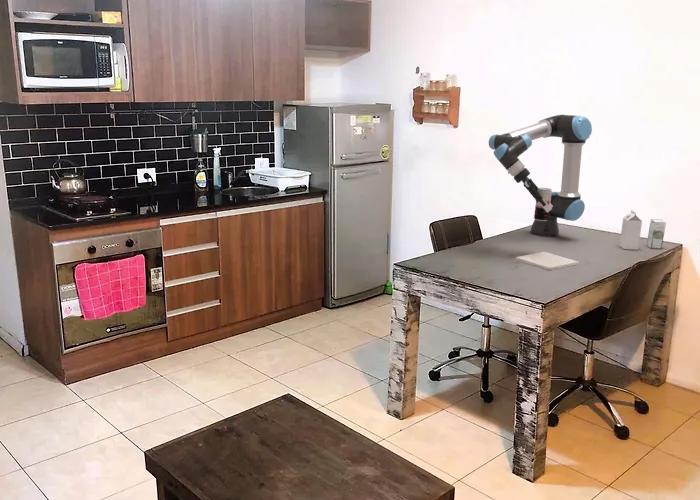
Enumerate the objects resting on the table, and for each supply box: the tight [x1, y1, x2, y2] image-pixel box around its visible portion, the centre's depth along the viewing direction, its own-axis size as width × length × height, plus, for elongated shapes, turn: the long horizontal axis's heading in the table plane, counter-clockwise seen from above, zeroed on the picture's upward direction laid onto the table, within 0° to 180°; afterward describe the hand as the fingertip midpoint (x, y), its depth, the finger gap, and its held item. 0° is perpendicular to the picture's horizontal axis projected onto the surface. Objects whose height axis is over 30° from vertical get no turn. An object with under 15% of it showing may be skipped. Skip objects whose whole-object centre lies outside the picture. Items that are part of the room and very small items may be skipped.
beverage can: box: [533, 187, 553, 221], centre depth 307 cm, size 7×7×15 cm
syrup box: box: [646, 218, 667, 250], centre depth 329 cm, size 6×6×14 cm
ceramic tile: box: [515, 251, 579, 271], centre depth 301 cm, size 20×20×1 cm
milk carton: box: [619, 209, 643, 251], centre depth 326 cm, size 7×7×19 cm
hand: (550, 209), depth 306 cm, fingers closed on beverage can, 6 cm apart
